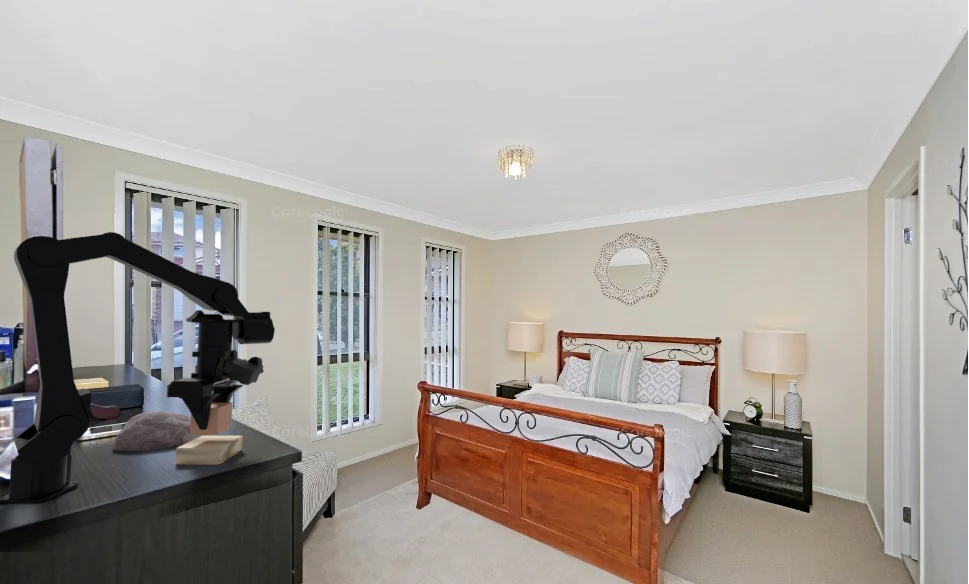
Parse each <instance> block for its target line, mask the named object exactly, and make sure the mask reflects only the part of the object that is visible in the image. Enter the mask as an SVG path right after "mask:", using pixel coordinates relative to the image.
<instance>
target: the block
mask: <svg viewBox="0 0 969 584" xmlns="http://www.w3.org/2000/svg"><path fill="white" fill-rule="evenodd" d="M232 414H233V402H229V403H224V402H212V403H211V409H210V415H209V421H208V426H207V429H205V430H200V429H199V427H198V425H197V423H196V421H195V420H194V418H193V416H192V414H191V413H190V418H191V427H190V435H212V436H219V435H220V434H222V433H224V432H225V431H227V430H230V429H231V428H232V419H233V418H232V416H233V415H232Z"/></svg>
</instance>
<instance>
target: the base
mask: <svg viewBox="0 0 969 584" xmlns="http://www.w3.org/2000/svg"><path fill="white" fill-rule="evenodd" d="M241 449H242V450H243V435H212V436H200V437H198V438H196V439H194V440H192V441H190V442H188V443H186V444H184V445H182V446H180V447H176V452H175V465H181V466H182V465H189V466H190V465H201V466H203V465H205V466H206V465H211V466H212V465H219V464H220V465H222V464H224V463H225V462H227V461H228V460H229V459H228V458H230V457H231V456H233V455H234V454H236V453H237V452H238V451H240V450H241ZM237 454H238V453H237ZM237 454H236V455H237ZM234 456H235V455H234ZM234 456H233V457H234ZM231 458H232V457H231ZM231 458H230V459H231ZM227 459H228V460H227ZM226 460H227V461H226ZM224 461H225V462H224ZM221 463H222V464H221Z"/></svg>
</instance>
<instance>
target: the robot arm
mask: <svg viewBox="0 0 969 584" xmlns="http://www.w3.org/2000/svg"><path fill="white" fill-rule="evenodd" d="M102 258H108V259H111V260H113V261H115V262H118V263H119V264H122V265H124V266H126V267H128V268H131V269H133V270H134V271H137V272H140V273H141V274H144V275H146V276H148V277H149V278H152V279H155V280H157V281H159V282H161V283H162V284H165V285H167V286H169V287H172V288H173V289H175V290H177V291H179V292H180V293H181V294H183V295H184V296H185V297H186V298H187V299H189V301H192V302H193V303H194V304H196V305H197V306H198V307H200V308H201V310H200V309H199V310H198V309H197V310H195V311H194V313H193V314H192V315H189V317H187V318H185V321H186V322H187V323H193V324H195V323H196V324H197V323H198V332H197V333H198V335H197V336H198V337H197V350H193V351H192V353H191V357H192V358H197V359H196V371H195V372H191V375H190V376H191V377H184V378H179V379H176V380H172V381H170V383H169V384H167V385H166V397H167V398H178V399H182V402H183V403H184V405H185V406H186V408H187V409H188V411H189V413H190V415H191V414H192V416H193V418H194V420H195V421H196V423H197V425H198V427H199V429H200V430H205V429H207V426H208V421H209V415H210V409H211V403H212V402H224V403H231V402H230V401H231V400H232V397H233V395H234V394H235V393H236V392H237V391H238V390H239V389H241V388H242V387H243V386H249V385H251V384H253V383H257V382H258V379H259V376H260V375H261V374H264V371H265V370H264V365H263V359H262V357H258V356H252V357H250V358H249V359H248V360H247V359H245V358H243V359H242V358H239V357H238V351H237V349H232V348H233V347H232V346H233V340H236V341H237V343H238V344H239V345H256V344H270V343H272V342H273V339H274V337H275V326H274V323H273V322H274V321H273V320H272V318H271V312H270V311H258V312H257V311H256V312H255V311H254V312H253V311H248V310H247V308H246V307H245V305H244V304H243V302H242V301H240V299H239V293H238V290H237V288H236V287H235V286H234V285H233V284H232V283H230V282H227V281H224V280H222V279H219V278H216V277H212V276H207V275H204V274H202V273H201V274H200V273H197V272H194V271H191V270H189V269H187V268H186V267H183V266H181V265H179V264H177V263H175V262H173V261H171V260H170V259H167V258H165V257H163V256H161V255H159V254H158V253H155V252H153V251H151V250H149V249H147V248H145V247H143V246H141V245H139V244H137V243H136V242H133V241H131V240H129V239H128V238H125V236H123V235H122V234H121V233H118V232H113V231H108V232H104V233H102V234H96V235H88V236H78V237H70V238H64V239H63V238H62V239H57V238H54V237H52V236H47V235H38V236H32V237H29V238H27V239H25V240H23V241H22V242H21V243H20V244H19V245H18V246H17V247H16V248H15V250H14V255H13V261H14V263H15V265H16V268H17V271H18V273H19V276H20V278H21V281H22V283H23V286H24V288H25V290H26V293H27V295H28V298H29V301H30V309H31V310H30V311H31V317H32V326H33V327H32V328H33V334H34V336H33V337H34V343H35V351H36V361H37V368H38V369H37V370H38V376H39V390H38V395H37V400H36V404H35V405H36V406H35V414H34V421H33V423H32V424H31V425H30V426H28V427H27V428H25V430H23V431H22V432H21V433H19V434H18V435H17V436H16V437H14V439H13V442H14V445H15V449H16V452H17V455H16V456H15V458H13V459H11V460H10V472H9V473H10V475H9V486H8V487H9V490H8V494H5V495H4V496H0V503H43V502H45V501H47V500H50V499H52V498H54V497H57V496H59V495H61V494H62V493H65V492H67V491H70V490H72V489H74V488H77V487H78V486H79V485H80V484H79V481H71V477H72V476H71V473H72V471H71V470H72V455H71V451H72V450H71V449H72V446H73V444H74V443H75V442H77V440H79V439H80V438H82V436H83V435H85V433H86V432H88V430H89V427H90V419H96V417H95V415H94V413H92V409H91V403H92V393H91V392H90V391H89V390H88V389H87V388H84V387H83V388H81V389H78V388H77V385H76V383H75V378H74V372H73V371H74V370H73V364H72V363H73V362H72V355H71V343H70V338H69V335H70V334H69V328H68V319H67V310H66V301H65V292H66V287H67V282H68V277H69V270H70V269H69V268H70V264H75V263H81V262H87V261H92V260H96V259H102ZM202 309H204V310H207V311H209V312H210V311H214V312H215V311H216V312H217V313H205V312H204V311H203V310H202ZM223 316H226V317H227V316H228V317H230V316H231V317H234V319H233V318H232V319H230V318H228V319H226V318H224V317H223ZM237 382H238V383H239V384H237Z"/></svg>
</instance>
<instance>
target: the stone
mask: <svg viewBox="0 0 969 584" xmlns="http://www.w3.org/2000/svg"><path fill="white" fill-rule="evenodd" d="M190 427H191V416H189V415H188V416H187V415H186V414H180V413H176V412H169V411H158V410H156V411H146V412H143V413H142V412H141V413H139V414H136V415H134V416H132V417H131V418H129V419H128V421H127V422H126V423H125V424H124V425H123V427H122V428H121V429H120V431H119V432H118V433H117V434H116V437H115V438H114V442H113V449H114V450H115V451H117V452H119V451H120V452H123V451H124V452H146V451H148V452H149V451H154V450H163V449H172V448H178V447H180V446H182V445H184V444H186V443H188V442H190V441H192V440H194V439H196V438H198V437H200V436H213V435H190Z"/></svg>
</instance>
